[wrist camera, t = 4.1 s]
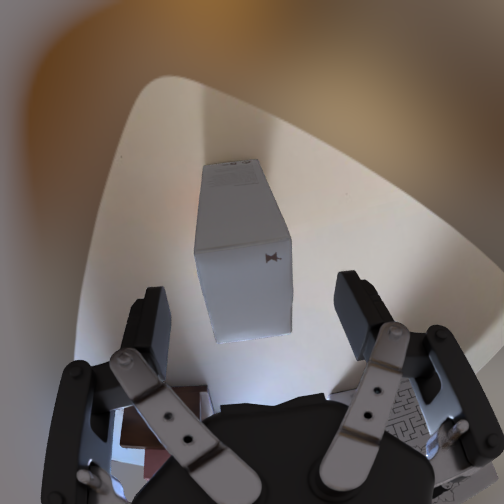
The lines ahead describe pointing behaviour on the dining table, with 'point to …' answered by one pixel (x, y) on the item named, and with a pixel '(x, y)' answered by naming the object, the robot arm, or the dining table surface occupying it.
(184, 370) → the dining table surface
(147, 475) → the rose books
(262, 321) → the cosmetic box
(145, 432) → the book rack
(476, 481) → the cereal box
